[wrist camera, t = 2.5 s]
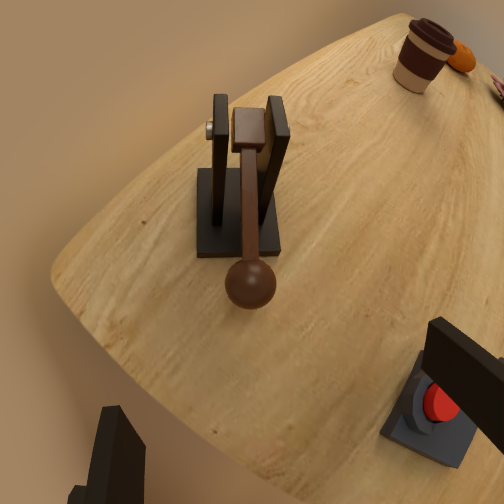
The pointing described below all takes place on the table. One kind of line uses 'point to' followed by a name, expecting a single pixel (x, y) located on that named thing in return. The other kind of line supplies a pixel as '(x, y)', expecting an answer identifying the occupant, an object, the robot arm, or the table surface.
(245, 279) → the lever
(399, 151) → the table surface
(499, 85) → the flower
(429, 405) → the button
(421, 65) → the coffee cup
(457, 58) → the fruit
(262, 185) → the bracket
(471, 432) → the button block
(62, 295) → the table surface
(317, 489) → the table surface
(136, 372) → the table surface
